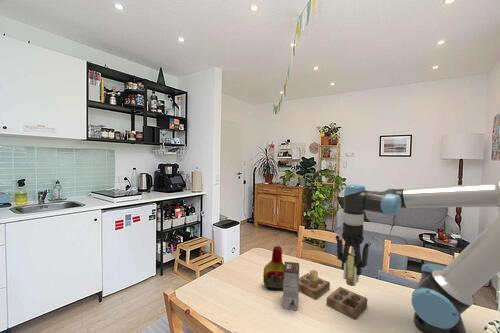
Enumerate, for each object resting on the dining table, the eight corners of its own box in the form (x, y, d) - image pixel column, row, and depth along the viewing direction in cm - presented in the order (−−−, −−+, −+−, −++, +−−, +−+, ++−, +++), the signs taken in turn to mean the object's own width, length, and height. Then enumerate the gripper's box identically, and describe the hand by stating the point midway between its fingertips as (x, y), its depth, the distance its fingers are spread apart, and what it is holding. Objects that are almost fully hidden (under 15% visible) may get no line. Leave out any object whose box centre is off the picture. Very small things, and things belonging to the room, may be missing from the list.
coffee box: (283, 296, 107) (284, 261, 106) (298, 298, 106) (299, 262, 105) (282, 308, 98) (283, 270, 97) (298, 311, 97) (299, 272, 96)
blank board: (367, 306, 100) (367, 297, 100) (355, 319, 92) (355, 310, 92) (339, 294, 109) (340, 286, 109) (326, 305, 101) (326, 296, 101)
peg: (357, 284, 96) (358, 254, 96) (353, 287, 94) (354, 257, 94) (348, 280, 99) (349, 252, 99) (344, 283, 97) (345, 254, 96)
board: (329, 289, 113) (330, 268, 112) (316, 299, 104) (316, 277, 104) (307, 279, 121) (308, 260, 121) (293, 288, 113) (294, 267, 113)
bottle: (288, 286, 115) (289, 245, 114) (287, 293, 109) (288, 250, 108) (264, 282, 118) (265, 242, 117) (262, 289, 112) (262, 247, 111)
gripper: (378, 226, 92) (376, 285, 93) (337, 217, 104) (335, 269, 105) (371, 230, 87) (368, 292, 88) (329, 220, 99) (327, 275, 100)
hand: (350, 280), depth 97 cm, fingers closed on peg, 3 cm apart
